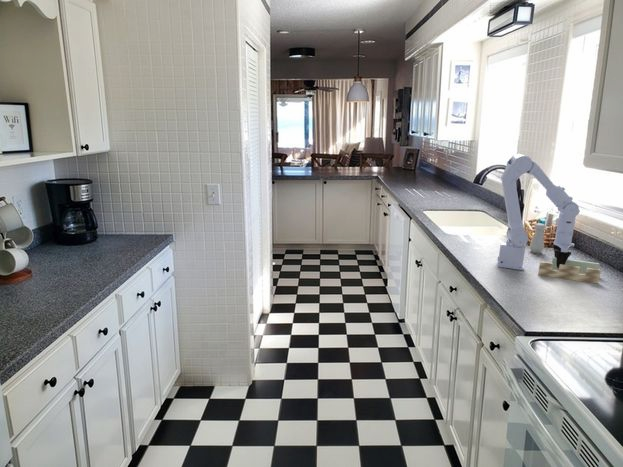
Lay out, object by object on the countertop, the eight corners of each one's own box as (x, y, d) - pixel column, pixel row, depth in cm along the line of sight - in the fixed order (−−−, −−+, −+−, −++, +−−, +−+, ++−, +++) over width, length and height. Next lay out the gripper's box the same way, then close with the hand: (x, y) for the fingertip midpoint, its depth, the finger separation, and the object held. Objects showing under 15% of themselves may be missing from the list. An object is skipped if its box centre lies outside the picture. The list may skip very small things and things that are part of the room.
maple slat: (538, 274, 180) (540, 262, 179) (538, 273, 181) (540, 261, 180) (598, 283, 173) (600, 270, 172) (597, 282, 174) (600, 269, 173)
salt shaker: (544, 254, 208) (549, 225, 204) (530, 253, 209) (535, 224, 205) (540, 251, 213) (545, 222, 210) (527, 249, 214) (531, 221, 211)
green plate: (550, 270, 186) (552, 258, 185) (550, 269, 187) (552, 257, 186) (597, 276, 181) (599, 264, 180) (596, 275, 182) (598, 263, 181)
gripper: (579, 237, 174) (572, 272, 177) (573, 228, 187) (567, 261, 191) (557, 234, 177) (551, 269, 180) (554, 226, 190) (548, 259, 193)
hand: (558, 265), depth 185 cm, fingers open, 7 cm apart
